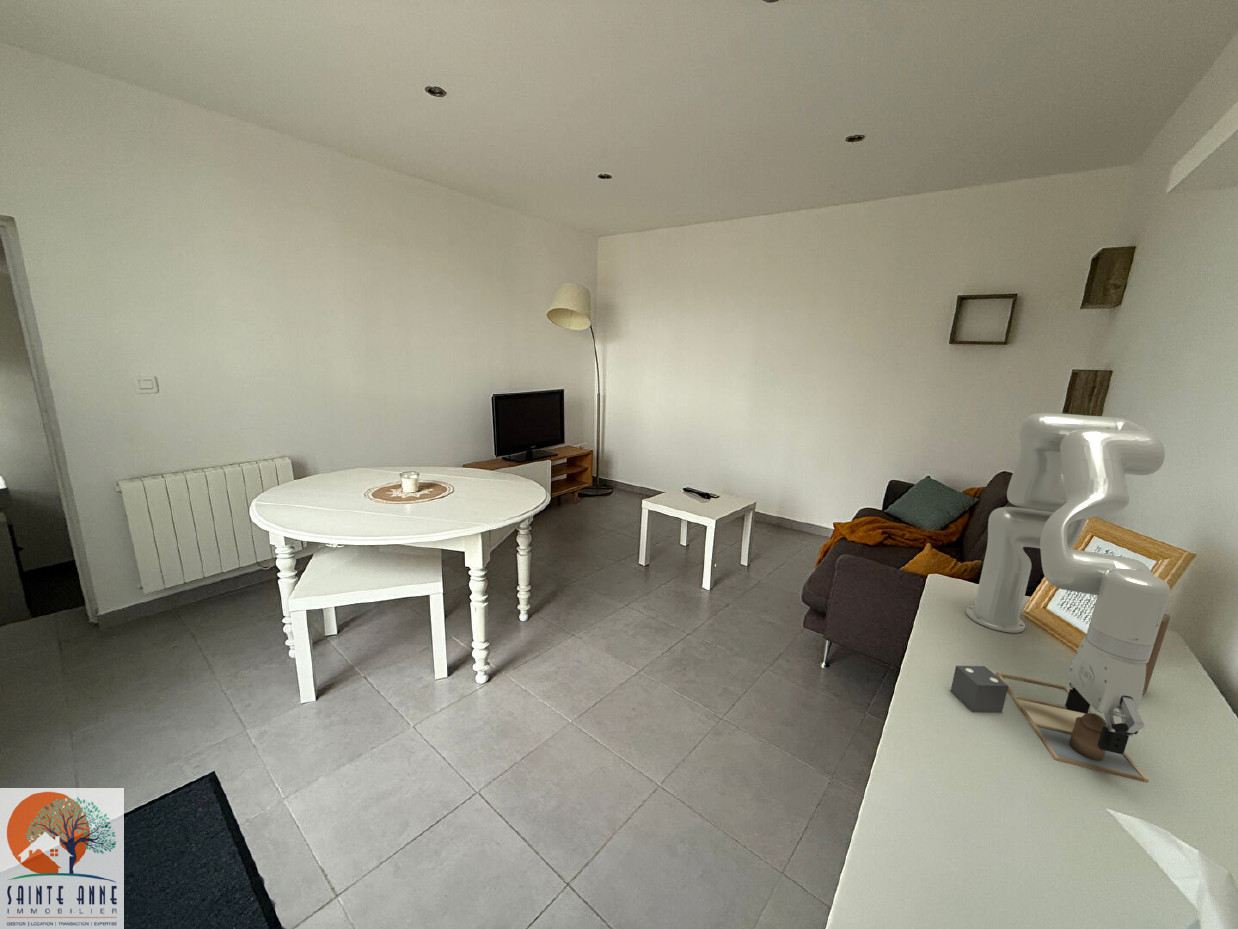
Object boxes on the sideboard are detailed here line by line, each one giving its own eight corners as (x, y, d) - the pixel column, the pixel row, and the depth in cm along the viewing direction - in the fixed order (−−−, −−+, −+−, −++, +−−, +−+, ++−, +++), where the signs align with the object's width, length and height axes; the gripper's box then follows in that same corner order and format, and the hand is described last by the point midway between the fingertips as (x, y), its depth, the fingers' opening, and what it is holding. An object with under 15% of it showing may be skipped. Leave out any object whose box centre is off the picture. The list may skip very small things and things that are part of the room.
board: (995, 674, 104) (996, 672, 104) (1065, 688, 100) (1066, 686, 100) (1054, 759, 82) (1055, 757, 81) (1147, 782, 78) (1148, 780, 78)
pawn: (1063, 737, 86) (1073, 703, 85) (1093, 744, 85) (1104, 710, 83) (1077, 756, 82) (1088, 720, 81) (1109, 763, 81) (1120, 728, 79)
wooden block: (1131, 705, 96) (1157, 625, 92) (1102, 691, 100) (1124, 614, 96) (1146, 691, 100) (1171, 615, 97) (1117, 679, 104) (1140, 605, 100)
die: (950, 691, 98) (956, 665, 97) (978, 691, 98) (984, 665, 97) (972, 712, 92) (978, 684, 91) (1001, 712, 92) (1008, 685, 91)
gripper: (1062, 613, 88) (1040, 692, 92) (1123, 667, 72) (1095, 761, 76) (1113, 621, 86) (1089, 702, 89) (1188, 679, 70) (1155, 776, 73)
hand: (1092, 729), depth 83 cm, fingers open, 9 cm apart
